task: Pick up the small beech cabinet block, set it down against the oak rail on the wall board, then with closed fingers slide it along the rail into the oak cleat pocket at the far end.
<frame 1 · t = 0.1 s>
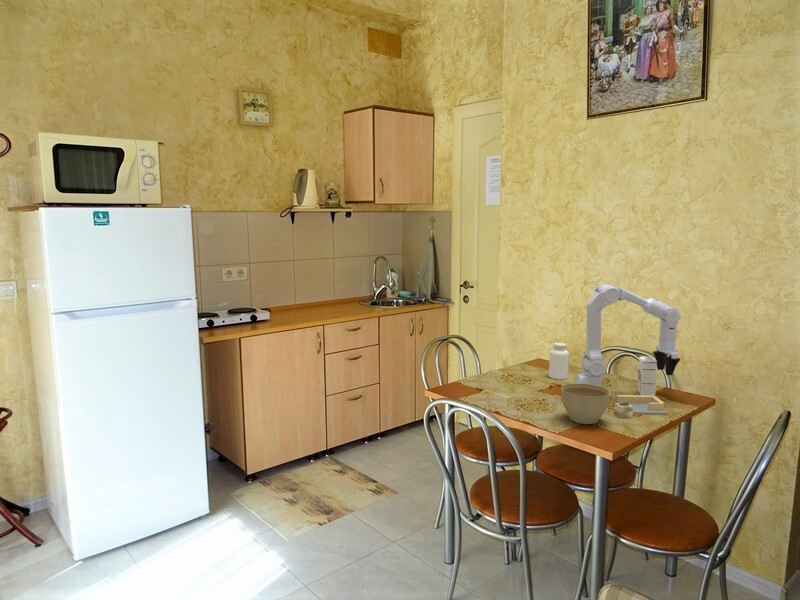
hand: (664, 372, 216), 10 cm above the table, fingers open, 7 cm apart
pill bottle: (558, 377, 244), on the table
syrup box: (645, 394, 222), on the table
cabinet block: (623, 415, 197), on the table
planter bowl: (583, 420, 193), on the table
wall board: (641, 408, 205), on the table
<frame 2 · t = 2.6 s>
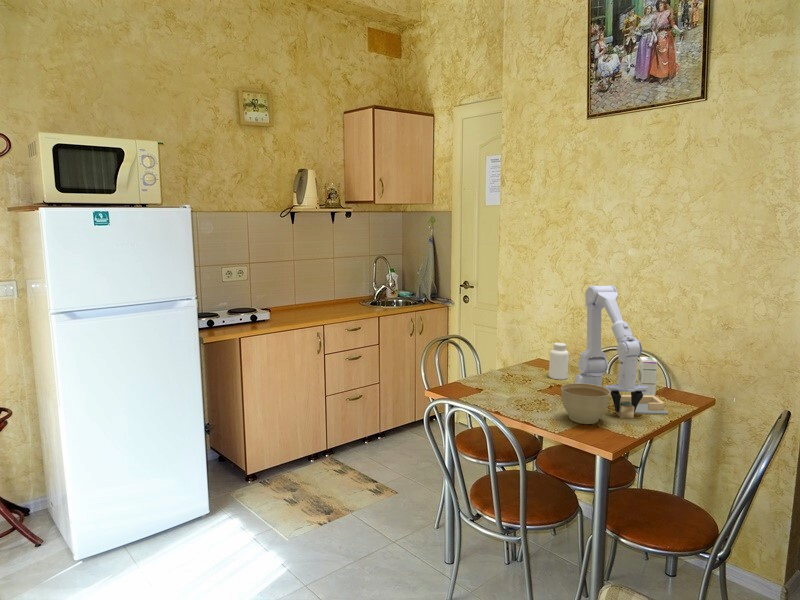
hand: (624, 411, 197), 1 cm above the table, fingers open, 5 cm apart
cabinet block: (624, 415, 197), on the table, touching gripper, wall board
everything else where it was.
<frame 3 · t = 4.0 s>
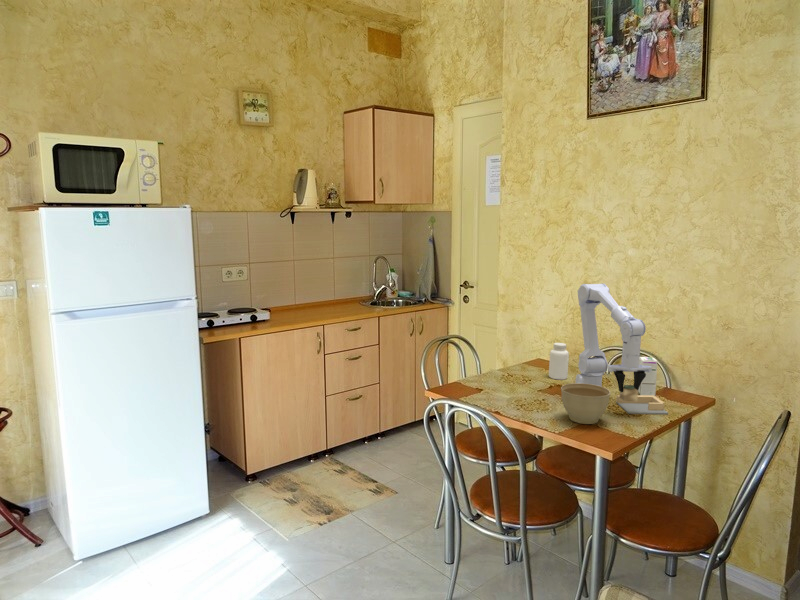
hand: (628, 391, 198), 8 cm above the table, fingers closed on cabinet block, 4 cm apart
cabinet block: (628, 399, 197), point 6 cm above the table, touching gripper
everything else where it was.
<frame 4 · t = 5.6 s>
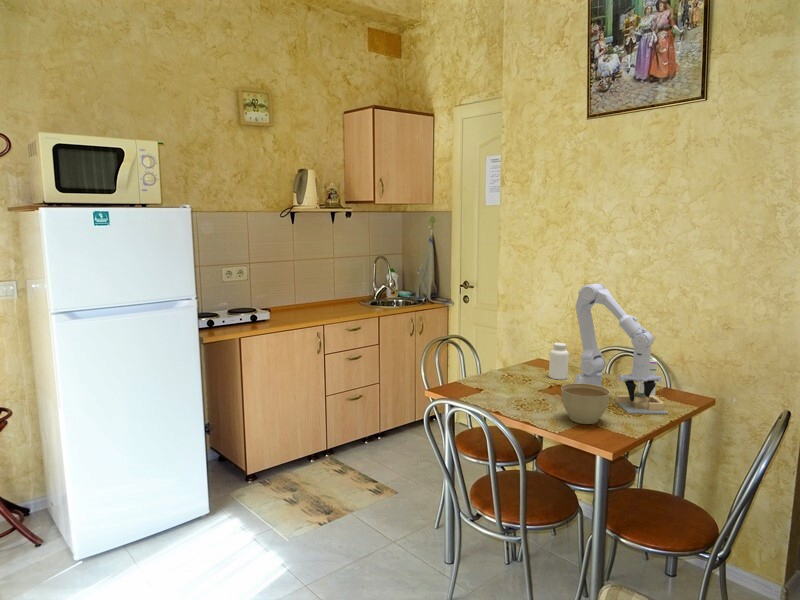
hand: (638, 400, 205), 3 cm above the table, fingers closed on cabinet block, 4 cm apart
cabinet block: (639, 406, 205), point 1 cm above the table, touching gripper, wall board
everything else where it was.
when the fingers open (3 cm above the table, at t = 6.0 s): cabinet block stays where it is, resting on wall board.
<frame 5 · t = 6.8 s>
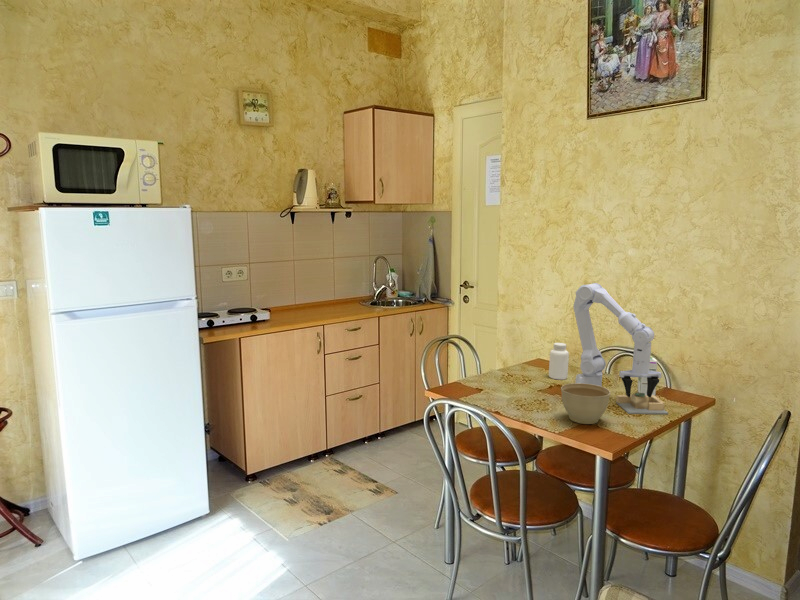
hand: (638, 396, 205), 4 cm above the table, fingers open, 7 cm apart
cabinet block: (639, 406, 205), point 1 cm above the table, touching wall board
everything else where it was.
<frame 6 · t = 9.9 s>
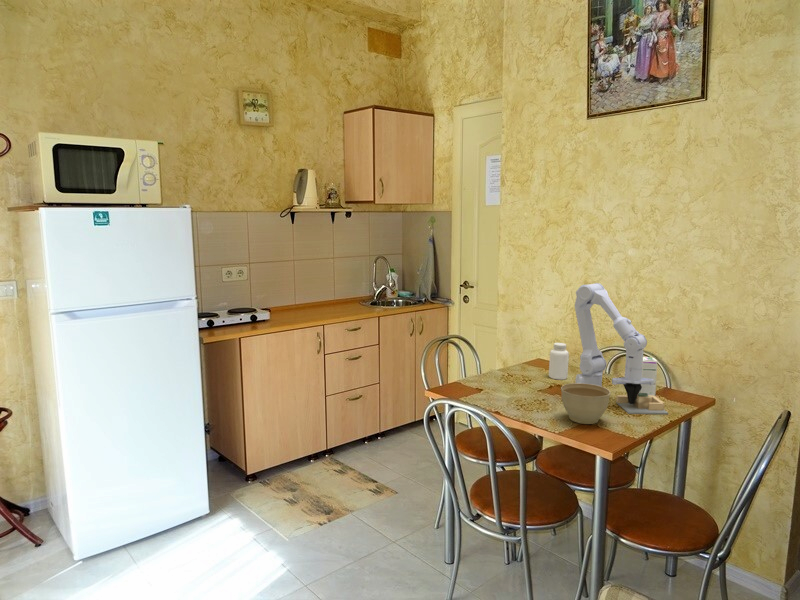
hand: (631, 403, 206), 2 cm above the table, fingers closed
cabinet block: (642, 406, 205), point 1 cm above the table, touching gripper
everything else where it was.
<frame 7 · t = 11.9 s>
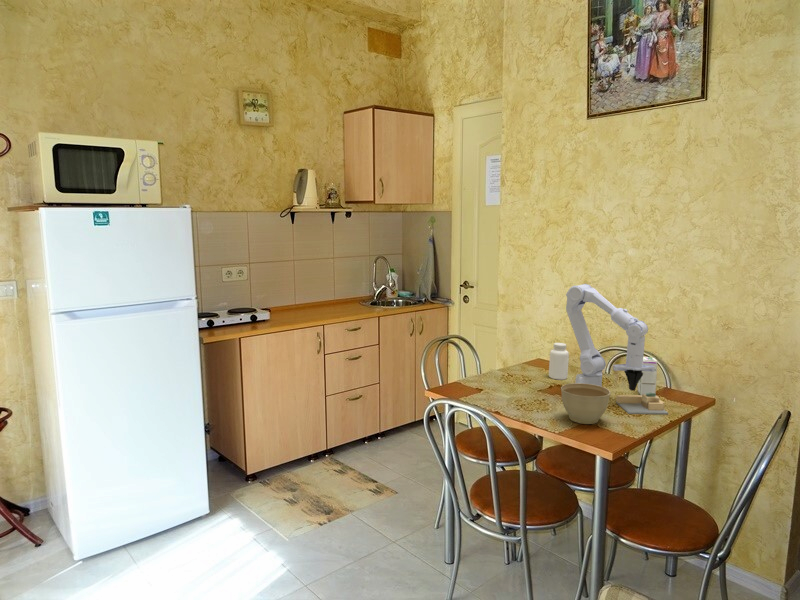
hand: (632, 389, 207), 6 cm above the table, fingers closed
cabinet block: (649, 406, 205), point 1 cm above the table, touching wall board
everything else where it was.
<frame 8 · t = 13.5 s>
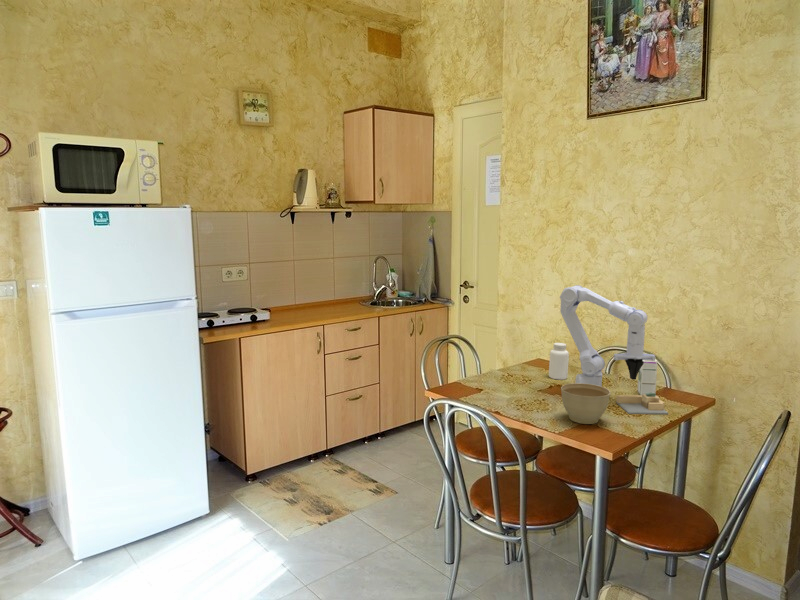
hand: (632, 378, 208), 10 cm above the table, fingers closed
nothing on the table moved.
at the end: cabinet block 0.8 cm from the target spot, point 0.6 cm above the table; cabinet block tilted 0°; the gripper is holding nothing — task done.
